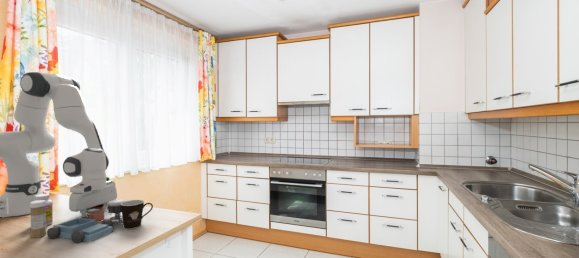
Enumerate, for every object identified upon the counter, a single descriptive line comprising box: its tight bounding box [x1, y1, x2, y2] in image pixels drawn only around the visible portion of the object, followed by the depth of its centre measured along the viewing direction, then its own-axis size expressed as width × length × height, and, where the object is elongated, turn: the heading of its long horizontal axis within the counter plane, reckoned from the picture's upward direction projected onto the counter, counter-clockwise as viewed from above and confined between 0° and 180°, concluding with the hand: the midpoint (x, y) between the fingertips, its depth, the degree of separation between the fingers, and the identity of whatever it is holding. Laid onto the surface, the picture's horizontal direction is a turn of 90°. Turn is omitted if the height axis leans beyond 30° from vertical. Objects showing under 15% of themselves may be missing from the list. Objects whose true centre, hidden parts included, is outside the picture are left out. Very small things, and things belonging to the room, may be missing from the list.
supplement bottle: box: [35, 193, 54, 227], centre depth 118 cm, size 7×7×13 cm
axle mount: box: [109, 212, 123, 226], centre depth 123 cm, size 6×6×5 cm
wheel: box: [107, 199, 127, 214], centre depth 123 cm, size 7×7×4 cm
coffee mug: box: [121, 199, 154, 230], centre depth 119 cm, size 12×9×10 cm
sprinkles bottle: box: [30, 200, 47, 239], centre depth 107 cm, size 5×5×14 cm
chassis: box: [46, 216, 114, 244], centre depth 110 cm, size 20×14×4 cm
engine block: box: [86, 209, 105, 224], centre depth 124 cm, size 6×5×5 cm
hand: (95, 215), depth 124 cm, fingers open, 7 cm apart
